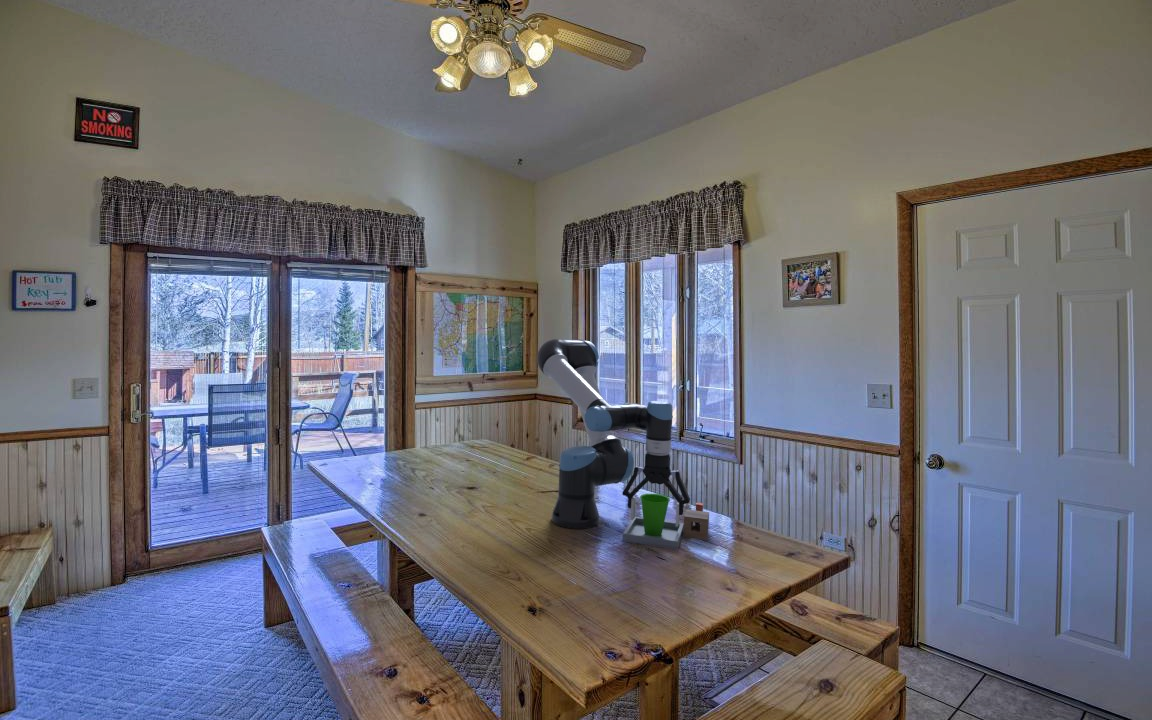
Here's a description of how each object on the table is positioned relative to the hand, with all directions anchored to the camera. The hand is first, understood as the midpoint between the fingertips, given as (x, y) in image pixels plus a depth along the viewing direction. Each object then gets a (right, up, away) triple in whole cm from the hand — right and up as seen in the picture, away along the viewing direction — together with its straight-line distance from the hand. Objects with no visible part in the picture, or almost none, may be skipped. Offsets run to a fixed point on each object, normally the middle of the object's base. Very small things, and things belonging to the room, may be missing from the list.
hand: (654, 522), depth 165 cm
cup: (0, -4, 0) cm, 4 cm away
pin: (+15, -3, +9) cm, 18 cm away
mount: (+13, -5, +2) cm, 14 cm away
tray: (0, -4, 0) cm, 4 cm away
